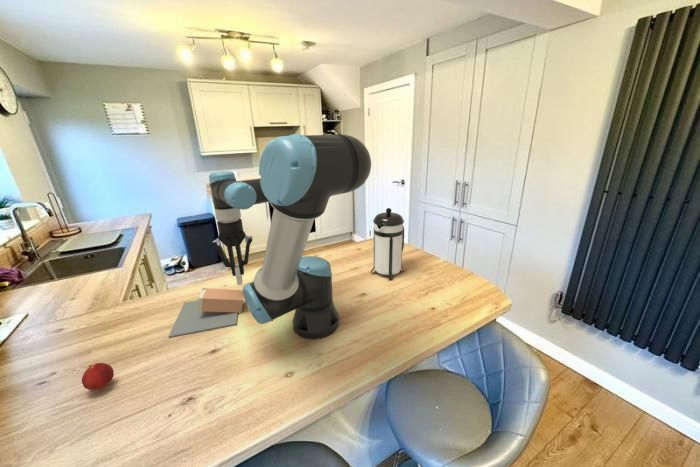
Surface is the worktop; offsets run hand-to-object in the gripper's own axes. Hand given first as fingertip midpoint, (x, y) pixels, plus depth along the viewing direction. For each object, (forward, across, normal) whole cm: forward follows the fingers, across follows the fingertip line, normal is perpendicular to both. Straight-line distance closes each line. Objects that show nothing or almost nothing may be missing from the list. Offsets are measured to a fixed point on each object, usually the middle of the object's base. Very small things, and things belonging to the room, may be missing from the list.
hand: (240, 282), depth 100 cm
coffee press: (+10, -62, -9) cm, 63 cm away
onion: (+10, +32, +27) cm, 43 cm away
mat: (+10, +12, 0) cm, 16 cm away
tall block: (+7, 0, 0) cm, 7 cm away
